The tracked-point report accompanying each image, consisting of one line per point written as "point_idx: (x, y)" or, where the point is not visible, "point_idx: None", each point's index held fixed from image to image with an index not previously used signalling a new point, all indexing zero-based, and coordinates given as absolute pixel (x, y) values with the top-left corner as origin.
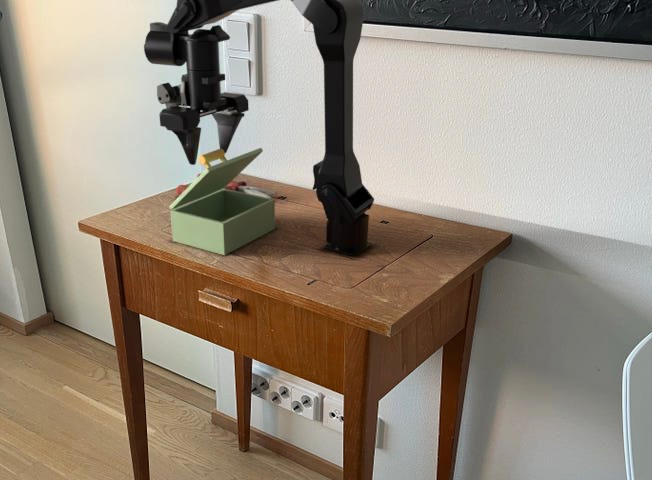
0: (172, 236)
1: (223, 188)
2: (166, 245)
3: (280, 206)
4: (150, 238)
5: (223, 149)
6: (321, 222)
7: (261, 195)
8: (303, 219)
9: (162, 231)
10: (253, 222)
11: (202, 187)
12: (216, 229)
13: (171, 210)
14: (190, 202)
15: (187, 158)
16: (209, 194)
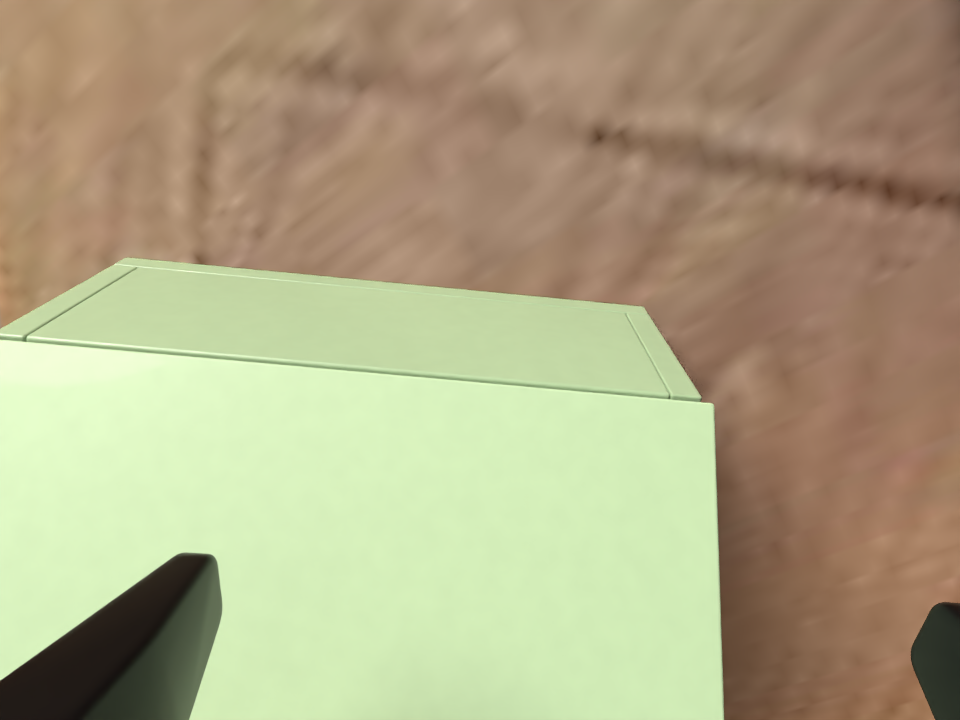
0: (109, 268)
1: (697, 398)
2: (55, 263)
3: (928, 485)
4: (58, 94)
5: (948, 687)
6: (742, 704)
7: None
8: (755, 640)
9: (204, 86)
10: None
11: None
12: None
13: (3, 339)
14: (248, 361)
15: (110, 605)
16: (504, 382)
